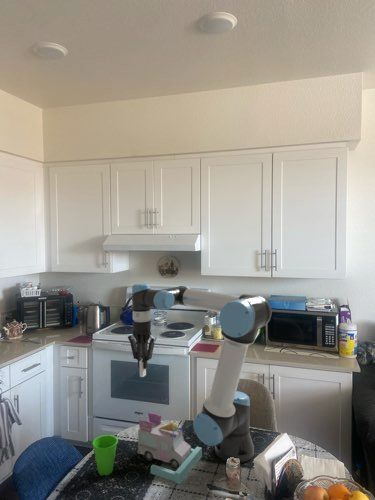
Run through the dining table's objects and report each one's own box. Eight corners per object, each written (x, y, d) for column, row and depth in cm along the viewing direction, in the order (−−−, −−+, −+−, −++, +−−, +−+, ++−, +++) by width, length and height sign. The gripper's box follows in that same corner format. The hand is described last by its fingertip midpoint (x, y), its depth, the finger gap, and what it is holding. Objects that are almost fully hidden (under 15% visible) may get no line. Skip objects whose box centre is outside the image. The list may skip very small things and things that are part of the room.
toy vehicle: (181, 473, 134) (181, 432, 133) (136, 458, 143) (135, 420, 142) (192, 459, 142) (192, 420, 142) (149, 446, 151) (149, 410, 150)
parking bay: (201, 456, 144) (201, 447, 144) (179, 484, 128) (179, 474, 128) (174, 448, 149) (174, 440, 149) (149, 474, 133) (149, 464, 133)
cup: (90, 467, 138) (90, 437, 137) (115, 461, 141) (115, 432, 141) (94, 481, 129) (94, 450, 129) (120, 475, 133) (120, 445, 132)
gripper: (123, 321, 158) (124, 376, 158) (150, 323, 152) (151, 381, 153) (133, 317, 165) (134, 371, 165) (159, 319, 159) (160, 374, 160)
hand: (142, 375), depth 159 cm, fingers closed
